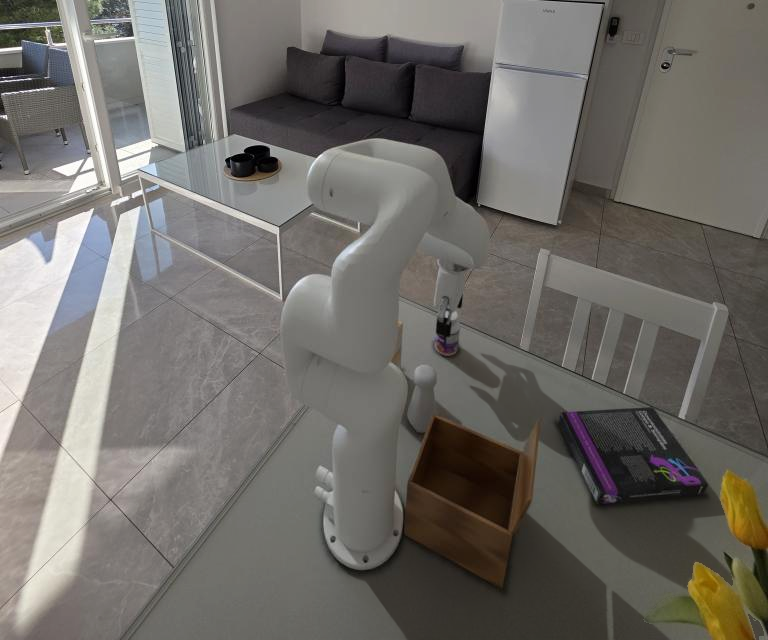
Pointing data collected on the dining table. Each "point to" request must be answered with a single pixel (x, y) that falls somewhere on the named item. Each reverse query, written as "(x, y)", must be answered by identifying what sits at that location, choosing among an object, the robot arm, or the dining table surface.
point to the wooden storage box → (464, 498)
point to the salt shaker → (423, 398)
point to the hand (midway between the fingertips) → (449, 319)
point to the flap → (526, 476)
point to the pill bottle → (449, 343)
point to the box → (629, 455)
